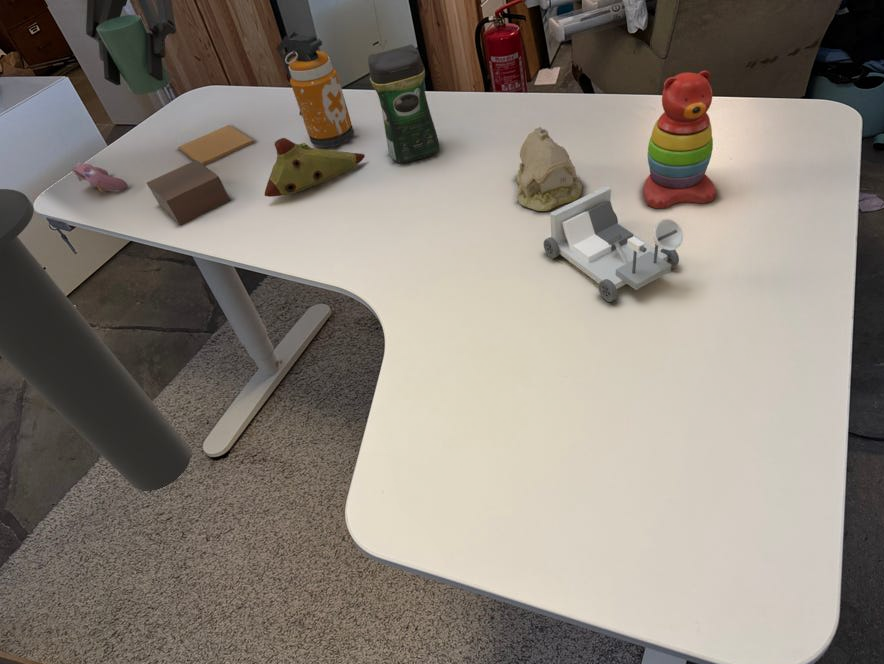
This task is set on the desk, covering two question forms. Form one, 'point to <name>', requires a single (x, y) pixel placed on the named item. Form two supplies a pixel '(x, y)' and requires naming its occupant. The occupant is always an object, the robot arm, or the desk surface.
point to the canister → (316, 90)
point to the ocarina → (305, 167)
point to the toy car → (610, 245)
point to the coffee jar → (403, 103)
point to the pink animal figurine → (98, 177)
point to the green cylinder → (131, 53)
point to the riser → (188, 191)
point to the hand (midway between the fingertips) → (134, 79)
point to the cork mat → (215, 144)
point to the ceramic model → (546, 173)
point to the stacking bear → (681, 144)
